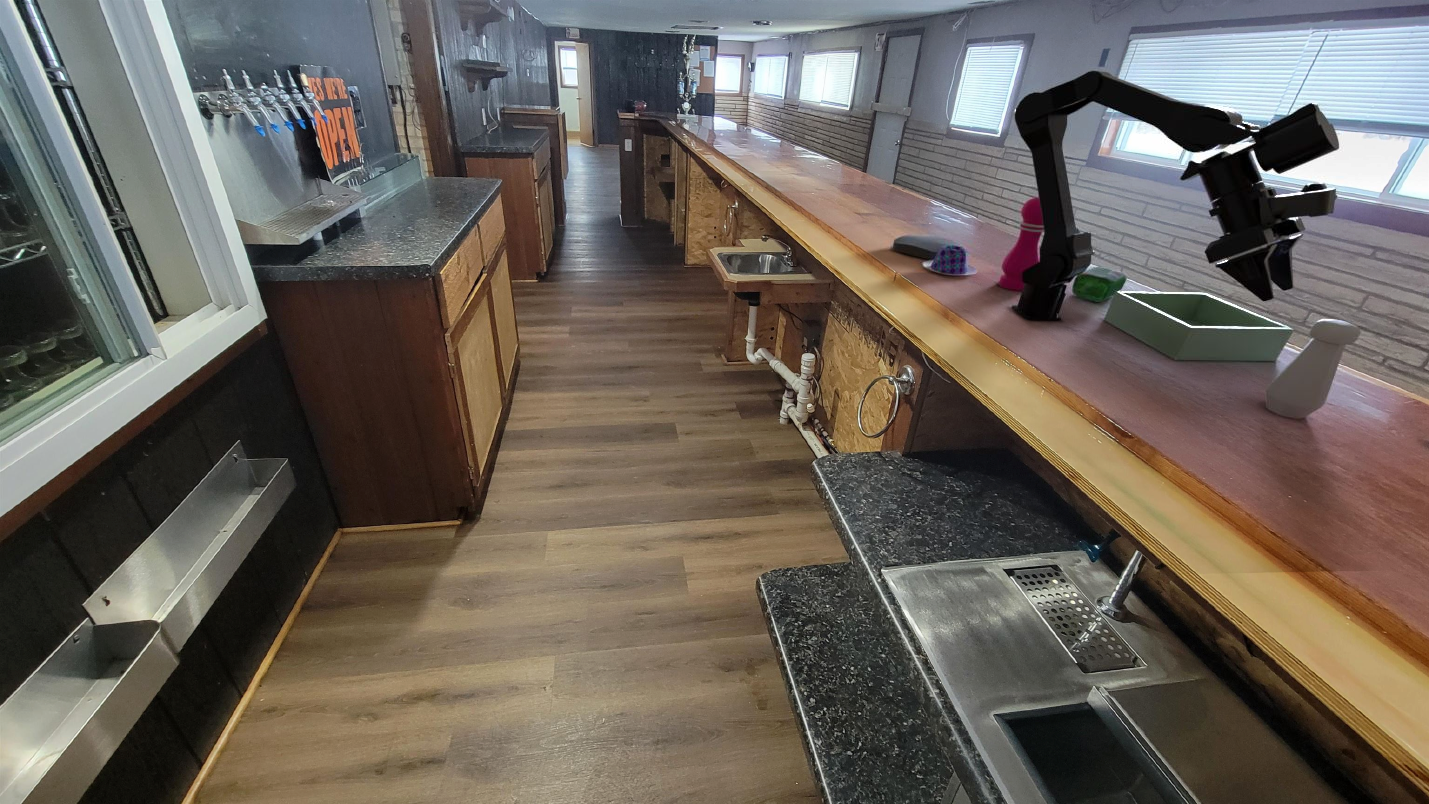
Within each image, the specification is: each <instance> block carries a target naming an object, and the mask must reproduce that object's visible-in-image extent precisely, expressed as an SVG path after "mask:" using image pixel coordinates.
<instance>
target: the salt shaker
mask: <svg viewBox="0 0 1429 804" xmlns="http://www.w3.org/2000/svg"><path fill="white" fill-rule="evenodd" d="M1361 333H1362V331H1361V329H1360V328H1359V326H1357V325H1356V324H1353V323H1350V322H1348V321H1345V320H1339V319H1334V318H1321V319H1319V320H1317V321H1315V322H1314V324H1313V325H1311V328H1310V329H1309V333H1308V334H1309V336H1311V337H1312V338H1311V339H1310V340H1309V341H1308V342H1307V344H1306V345H1305V346H1304V347H1303V348H1302V349H1301V351H1300V352H1299V353H1298V354H1297V355H1296V356H1295V357H1294V358H1293V359H1292V360H1291V362H1289V364H1288V365H1286V367H1285V368H1284V369H1283V370H1282V371H1281V372H1280V373H1279V374H1278V376H1277V377H1275V378H1274V380H1273V381H1272V382H1271V383H1270V384H1269V385H1268V386H1267V387H1266V389H1265V391H1264V392H1265V399H1266V400H1265V402H1266V409H1267V410H1269V411H1271V412H1272V413H1275V414H1276V415H1278V416H1281V417H1286V418H1291V419H1295V420H1299V419H1303V418H1307V417H1308V416H1310V415H1311V414H1313V413H1314V412H1316V411H1317V410H1318V411H1319V409H1321V408H1323V406H1324V405H1325V404H1326V401H1327V398H1328V395H1329V393H1330V391H1331V388H1332V384H1333V381H1334V379H1335V376H1336V373H1337V370H1338V367H1339V365H1340V361H1341V359H1342V356H1343V353H1344V350H1345V347H1346V346H1350V345H1352V344H1354V343H1355V342H1356V341H1357V340H1358V339H1359V337H1360V335H1361Z"/></svg>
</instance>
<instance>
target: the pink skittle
mask: <svg viewBox="0 0 1429 804" xmlns="http://www.w3.org/2000/svg"><path fill="white" fill-rule="evenodd" d="M1020 216H1021V217H1022V220H1021V221H1020V222H1019V223H1020V225H1019V227H1018V229H1020V231H1019V236H1018V238H1017V241H1016V242H1015V245H1014V246H1013V247H1012V249H1011V250H1010V251H1008V253H1007V254H1006V256H1005V257H1004V259H1003V261H1002V263H1001V269H1002V272H1003V274H1002V275H1001V276H1000V278H999V281H998V285H999V286H1000V287H1002V288H1004V289H1008V290H1010V291H1017V292H1022V290H1023V287H1024V284H1025V283H1023V282H1022V272H1023V271H1024V270H1026V269H1027V268H1029V267H1031V266H1033V265H1035V264H1036V263H1038V262H1039V258H1040V249H1039V247H1040V246H1039V245H1040V241H1041V237H1042V235H1043V234H1044V225H1043V219H1042V213H1041V207H1040V201H1039V195H1038V194H1037V197H1033V198H1030V199H1028V200H1027V201H1025V203H1024V204H1023V205H1022V207H1021V210H1020Z"/></svg>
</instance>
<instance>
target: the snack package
mask: <svg viewBox="0 0 1429 804" xmlns="http://www.w3.org/2000/svg"><path fill="white" fill-rule="evenodd" d="M1127 279H1128V275H1127V274H1126V273H1125V272H1123V271H1121V270H1116V269H1112V268H1107V267H1102V266H1093V267H1091V268H1087V269H1086V271H1084V272H1083V273H1082V274H1080V275H1077V276H1075V277H1074V279H1073V284H1072V288H1071V291H1072V293H1073V295H1074V296H1075V297H1077V298H1080V299H1083V300H1088V301H1091V302H1095V303H1102V302H1104V301H1106V300H1107V299H1109V298H1111V297H1113V296H1114V294H1115V291H1121V290H1122V289H1123V288H1124V286H1125V284H1126V282H1127Z"/></svg>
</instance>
